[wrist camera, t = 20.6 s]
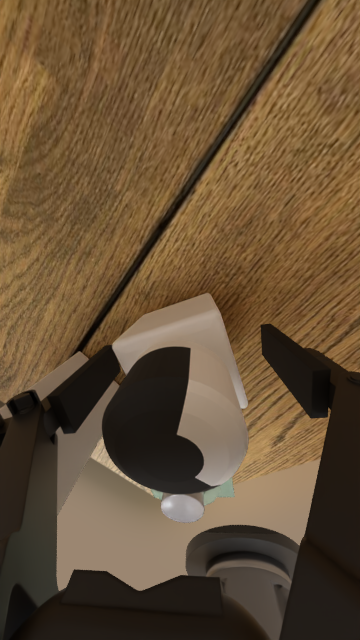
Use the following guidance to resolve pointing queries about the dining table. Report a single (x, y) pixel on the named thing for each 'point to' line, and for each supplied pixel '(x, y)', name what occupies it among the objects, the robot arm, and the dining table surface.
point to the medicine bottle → (177, 401)
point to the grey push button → (183, 506)
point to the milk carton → (77, 445)
